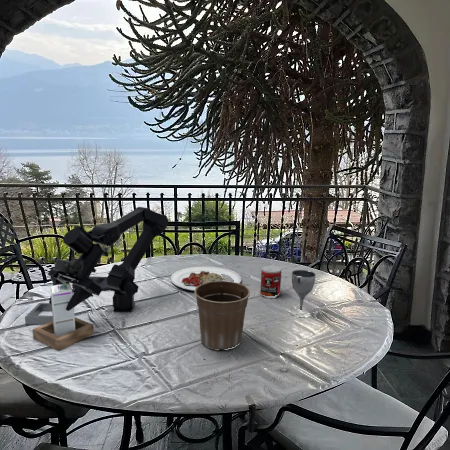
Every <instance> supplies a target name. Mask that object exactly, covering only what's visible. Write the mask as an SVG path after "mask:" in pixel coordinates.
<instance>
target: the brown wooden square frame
mask: <svg viewBox="0 0 450 450" xmlns="http://www.w3.org/2000/svg"><path fill="white" fill-rule="evenodd" d="M94 329H95V328H94V324H93V323H90V322H88V321H85V320H82V319H81V318H77V317H75V330H74V331H72V332H70V333H68V334H66V335H63V336H61V337H58V336H56V335H55V332H54V324H53V321H51V322H49V323H46V324H40V325H39V326H37V327H34V328H32V336H33V337H32V338H33V339H34V340H35V341H38V342H40V343H42V344H43V345H46V346H48V347H50V348H52V349H54V350H56V351H62V350H64V349H65V348H67V347H69V346H72V345H74V344H75V343H78V342H80V341H82V340H84V339H86V338H88V337H89V336H92V335H94V334H95V333H94V332H95V331H94ZM53 333H54V334H53Z"/></svg>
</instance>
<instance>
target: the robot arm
mask: <svg viewBox="0 0 450 450" xmlns="http://www.w3.org/2000/svg"><path fill="white" fill-rule="evenodd" d="M140 223H142V232H141V233H140V235H139V236H138V237H137V239H136V241H135V242H134V244H133V245H132V247H131V249H130V250H129V252H128V253H127V255H126V257H125V258H124V260H123V261H122V263H120V264H116V263H115V264H114V265H112V267H111V269H110V271H109V272H107V275H108V276H106V277H107V285H108V286H109V288H110V290H109V291H111V292H113V295H112V308H113V310H112V311H113V312H115V313H116V312H118V313H119V312H120V313H123V312H125V313H128V312H129V313H130V312H133V310H134V308H135V306H136V302H135V295H136V293H138V290H139V287H140V286H139V285H137V283H135V282H134V281H135V279H136V278H135V277H136V275H135V274H136V269H137V267H138V265H139V264H140V262H141V261H142V259H143V257H144V256H145V254H146V252H147V251H148V249H149V248H150V247H151V244H152V242H153V241H154V240H155V238H156V237H158V236H160V235H161V234H162V233H163V232H164V231H165V230H166V229H167V228H168V226H169V219H168V217H167V215H166V214H162V213H158V212H156V211H153V210H152V209H150V208H149V207H143V206H137V207H136V208H135V209H134V210H132V211H130V212H128V213H127V214H125V215H123V216H121V217H119V218H117V219H115V220H114V221H111V222H106V223H105V222H104V223H102V224H98V225H95V226H94V227H92V229H91V230H89V231H87V230H86V229H85V228H84V227H83V226H81V225H76V226H75V228H72V229H70V230H69V231H68V232H66V233H65V234H64V236H63V238H62V242H63V244H65V245H66V246H67V247H68V248H69V249H71V250H72V251H74V252H75V253H76V254H77V255H79V256H78V258H73V259H71V260H70V261H69V260H65V259H60V258H56V261H55V265H54V267H53V268H51V269H49V271H48V272H47V276H49V277H50V280H51V282H52V286H54V285H59V284H71V285H72V284H75V292H73V293H72V294H73V296H72V298H71V299H70V301H69V303H68V305H67V307H66V310H67V311H69V310H71V309H72V308H74V309H75V307H76V306H78V305H79V304H81V303H82V302H84V301H86V300H87V299H89V298H93V297H94V296H98V297H99V296H100V295H101V293H102V291H103V290H102V286H100V285H99V284H98V283H96V282H95V281H94V280H92V279H89V276H91V275H92V273H94V274H95V273H96V272H97V269H96V268H95V267H97V264H98V263H99V261H100V260H101V258H102V257H107V258H108V257H109V252H108V248H107V247H110V246H113V245H114V244H115V243H116V242H118V240H119V239H120V238H121V237H122V234H124V233H125V232H127V231H128V230H130V229H131V228H133V227H135V226H136V225H138V224H140ZM101 245H102V246H101ZM103 246H107V247H103ZM72 280H73V281H72ZM77 281H78V282H77ZM77 285H78V286H77ZM48 303H50V304H51V305H52V301H51V296H50V297H49V301H48Z"/></svg>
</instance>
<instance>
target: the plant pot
mask: <svg viewBox="0 0 450 450" xmlns="http://www.w3.org/2000/svg"><path fill="white" fill-rule="evenodd" d="M194 295H195V296H196V304H197V308H198V319H199V330H200V341H201V344H202V343H203V344H204V345H205V347H206V346H207V347H210V348H213V349H221V350H223V349H228V348H232V347H235V346H236V345H238V344H239V343H240V342H241V343H242V339H243V331H244V325H245V324H244V322H245V315H246V314H245V313H246V308H247V306H248V301H249V297H250V295H251V290H250V289H249V287H248V286H246V285H244V284H242V283H240V284H239V283H235V282H230V281H211V282H207V283H204V284H201V285H199V286H197V287H196V288H195V291H194ZM241 343H240V344H241ZM203 344H202V345H203ZM204 345H203V346H204ZM207 347H206V348H207ZM210 348H209V349H210Z"/></svg>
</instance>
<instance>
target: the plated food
mask: <svg viewBox="0 0 450 450" xmlns="http://www.w3.org/2000/svg"><path fill="white" fill-rule="evenodd" d="M221 274H225V275H228V276H230V277H231V278H232V279H233V280H234V282H235V283H239V284H241V282H242V277H241V275H240V274H239V273H238V272H236V271H233V270H231V269H228V268H225V267H218V266H192V267H191V266H190V267H186V268H183V269H180V270H176V271H175V272H173V273H172V275H171V276H170V282H171V283H173V284H174V285H175V286H176V287H178V288H180V289H184V290H188V291H192V292H193V291H195V288H196V287H197V286H199V285H201V284H204V283H207V282H211V281H222V280H227V279H225V278H223V277H222V275H221Z"/></svg>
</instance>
